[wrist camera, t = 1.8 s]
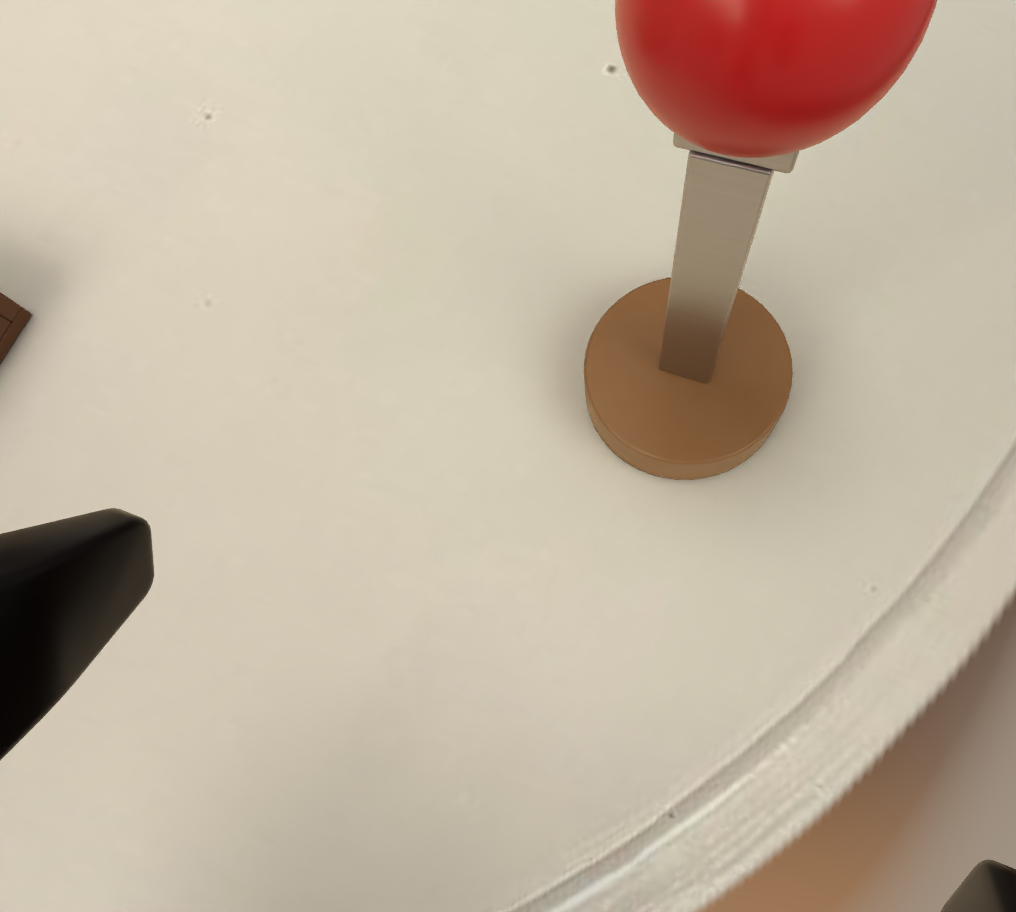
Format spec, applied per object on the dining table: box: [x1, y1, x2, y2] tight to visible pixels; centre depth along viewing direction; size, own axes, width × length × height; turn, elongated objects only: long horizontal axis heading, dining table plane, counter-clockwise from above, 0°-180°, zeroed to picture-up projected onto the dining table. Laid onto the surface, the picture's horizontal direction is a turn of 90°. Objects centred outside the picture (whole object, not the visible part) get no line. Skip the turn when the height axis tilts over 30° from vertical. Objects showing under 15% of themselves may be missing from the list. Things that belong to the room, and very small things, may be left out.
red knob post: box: [584, 0, 937, 480], centre depth 16 cm, size 6×6×16 cm
